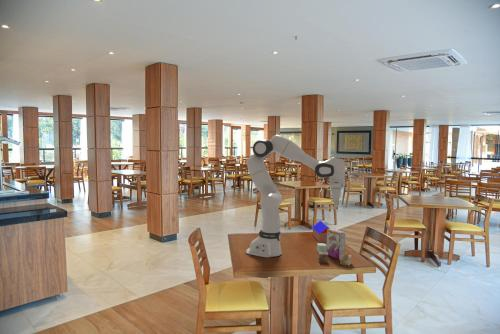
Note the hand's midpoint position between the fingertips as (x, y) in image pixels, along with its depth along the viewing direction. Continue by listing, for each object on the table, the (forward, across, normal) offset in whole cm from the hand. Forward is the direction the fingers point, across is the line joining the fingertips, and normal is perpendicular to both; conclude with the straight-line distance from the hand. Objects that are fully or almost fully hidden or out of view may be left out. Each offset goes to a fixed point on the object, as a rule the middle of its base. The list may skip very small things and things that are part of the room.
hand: (336, 206), depth 209 cm
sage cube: (+32, -7, -9) cm, 34 cm away
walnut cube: (+32, +11, -6) cm, 34 cm away
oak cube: (+32, +11, +7) cm, 34 cm away
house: (+32, -39, -12) cm, 52 cm away
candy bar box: (+32, 0, 0) cm, 32 cm away
